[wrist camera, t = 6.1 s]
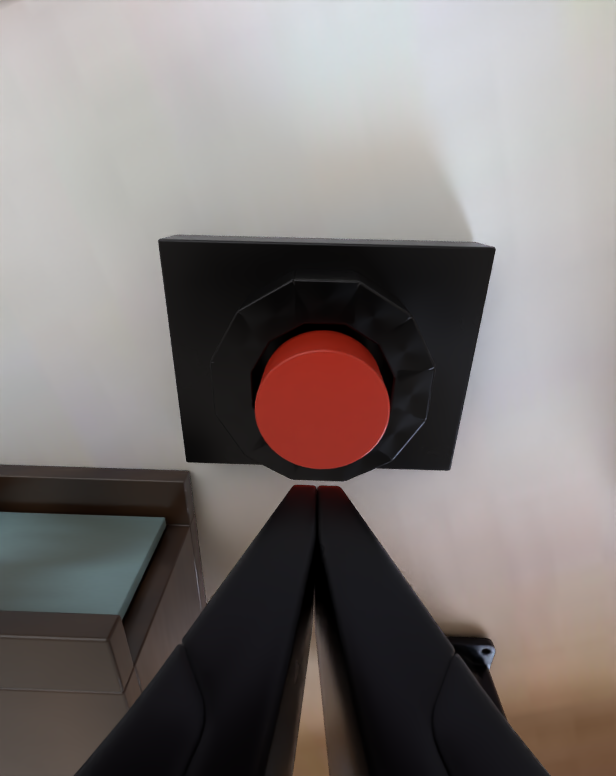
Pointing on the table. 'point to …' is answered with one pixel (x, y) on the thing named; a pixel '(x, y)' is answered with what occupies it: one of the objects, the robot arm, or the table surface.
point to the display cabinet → (87, 603)
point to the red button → (322, 400)
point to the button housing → (323, 312)
